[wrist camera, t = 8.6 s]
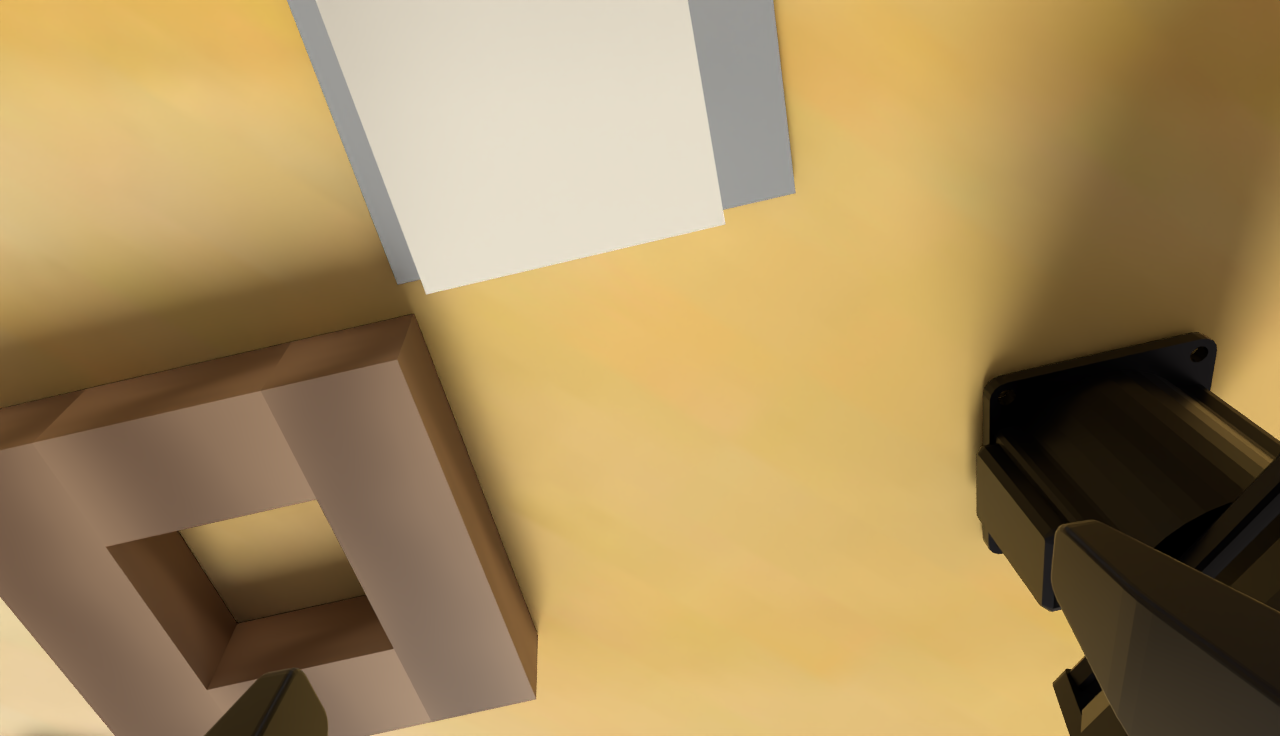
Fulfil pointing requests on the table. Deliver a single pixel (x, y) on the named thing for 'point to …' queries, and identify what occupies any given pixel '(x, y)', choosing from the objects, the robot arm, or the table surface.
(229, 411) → the walnut square frame
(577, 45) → the cream block
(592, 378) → the table surface
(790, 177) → the grey mat
